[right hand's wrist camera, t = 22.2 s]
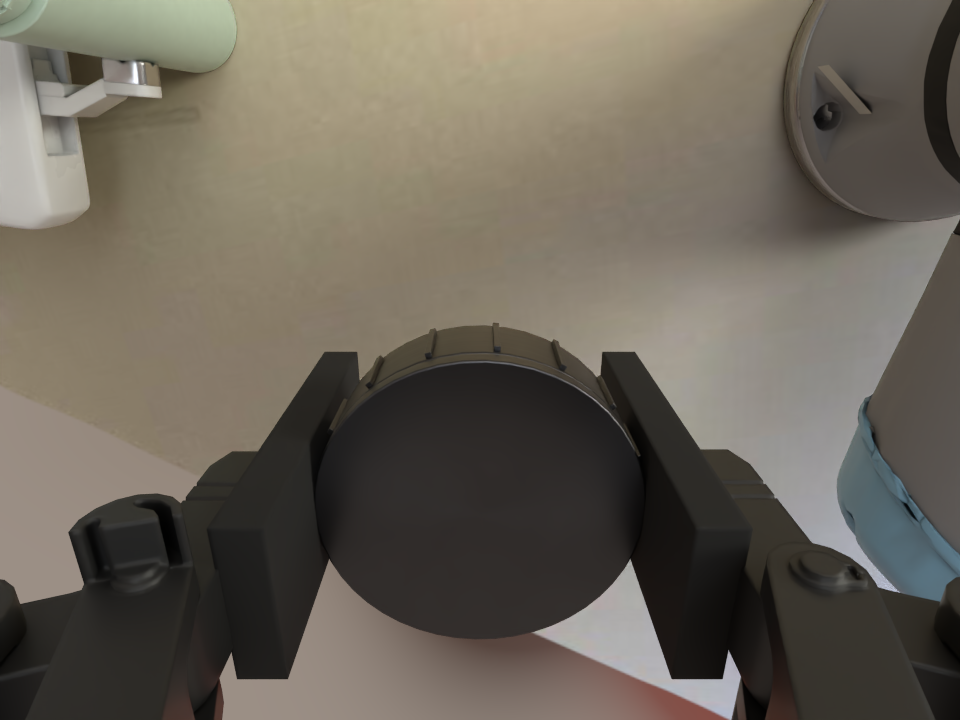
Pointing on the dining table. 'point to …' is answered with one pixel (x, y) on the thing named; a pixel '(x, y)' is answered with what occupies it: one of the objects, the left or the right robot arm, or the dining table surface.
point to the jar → (127, 29)
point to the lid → (479, 485)
